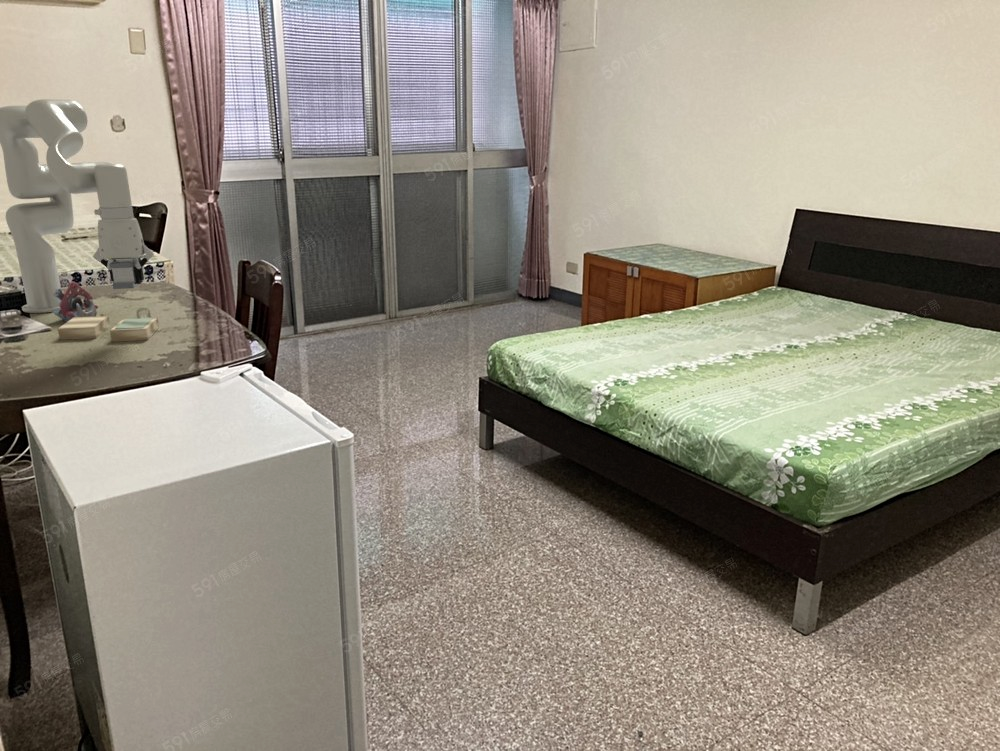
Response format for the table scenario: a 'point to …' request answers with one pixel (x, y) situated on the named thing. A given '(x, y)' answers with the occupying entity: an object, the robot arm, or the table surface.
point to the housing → (123, 273)
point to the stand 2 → (134, 329)
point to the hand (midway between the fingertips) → (128, 282)
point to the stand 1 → (84, 327)
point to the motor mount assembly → (74, 303)
